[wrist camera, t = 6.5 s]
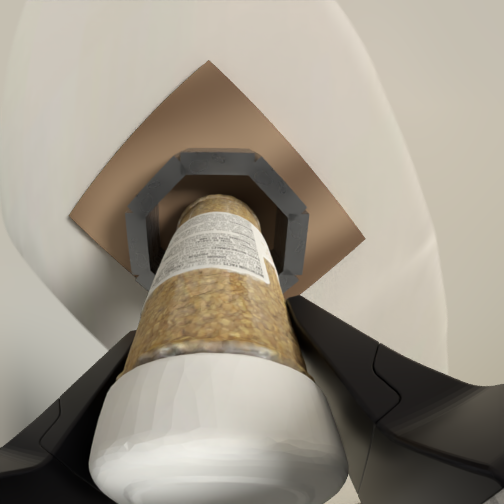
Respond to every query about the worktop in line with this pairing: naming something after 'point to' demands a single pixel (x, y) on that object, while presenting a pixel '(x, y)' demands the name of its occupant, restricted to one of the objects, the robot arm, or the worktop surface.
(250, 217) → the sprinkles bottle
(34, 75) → the worktop surface
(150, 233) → the socket collar
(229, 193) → the socket board
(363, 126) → the worktop surface
